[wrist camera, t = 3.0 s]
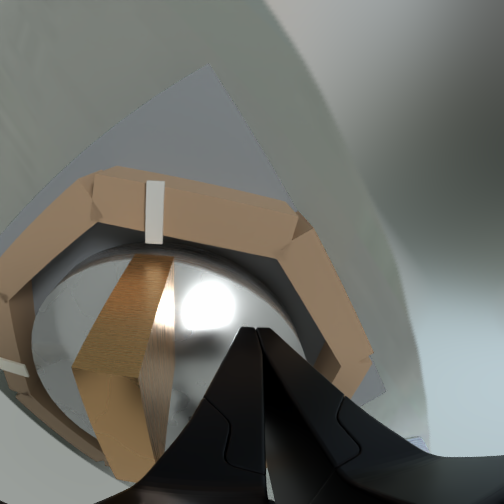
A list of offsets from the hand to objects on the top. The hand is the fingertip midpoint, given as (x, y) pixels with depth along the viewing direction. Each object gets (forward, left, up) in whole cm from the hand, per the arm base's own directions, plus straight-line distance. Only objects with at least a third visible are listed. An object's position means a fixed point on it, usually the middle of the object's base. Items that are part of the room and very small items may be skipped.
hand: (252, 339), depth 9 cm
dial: (-4, +3, -3) cm, 6 cm away
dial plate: (-4, +3, -4) cm, 7 cm away
